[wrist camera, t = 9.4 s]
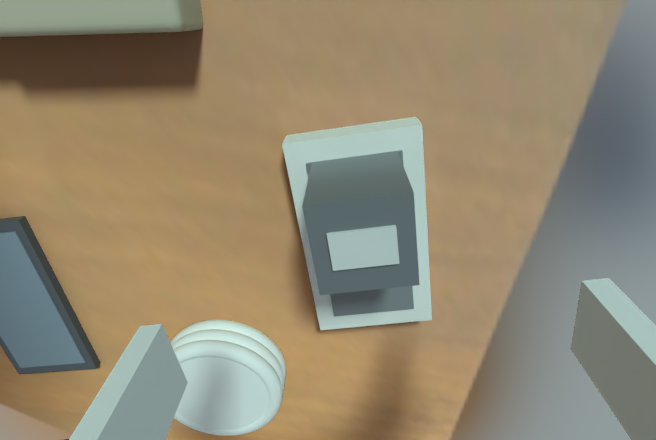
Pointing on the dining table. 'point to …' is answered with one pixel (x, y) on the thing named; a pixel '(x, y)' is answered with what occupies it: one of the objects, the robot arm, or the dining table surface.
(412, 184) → the plate
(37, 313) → the phone
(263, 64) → the dining table surface
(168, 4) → the electrical outlet
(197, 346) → the coaster
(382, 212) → the block
